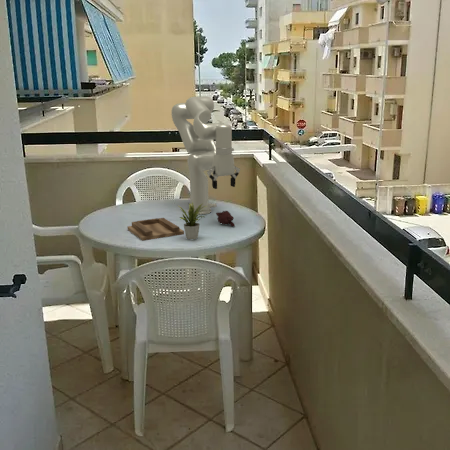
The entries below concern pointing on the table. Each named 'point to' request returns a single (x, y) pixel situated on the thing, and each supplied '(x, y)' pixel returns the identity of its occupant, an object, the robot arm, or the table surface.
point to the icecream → (225, 218)
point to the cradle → (154, 229)
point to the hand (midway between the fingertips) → (223, 187)
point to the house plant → (191, 222)
